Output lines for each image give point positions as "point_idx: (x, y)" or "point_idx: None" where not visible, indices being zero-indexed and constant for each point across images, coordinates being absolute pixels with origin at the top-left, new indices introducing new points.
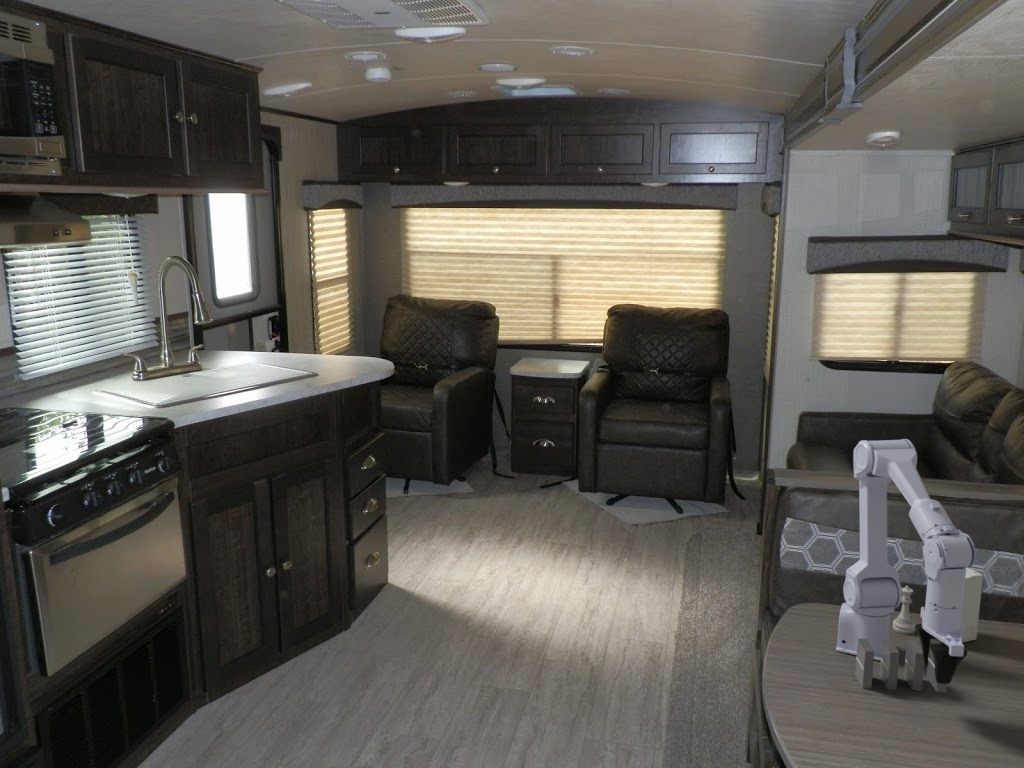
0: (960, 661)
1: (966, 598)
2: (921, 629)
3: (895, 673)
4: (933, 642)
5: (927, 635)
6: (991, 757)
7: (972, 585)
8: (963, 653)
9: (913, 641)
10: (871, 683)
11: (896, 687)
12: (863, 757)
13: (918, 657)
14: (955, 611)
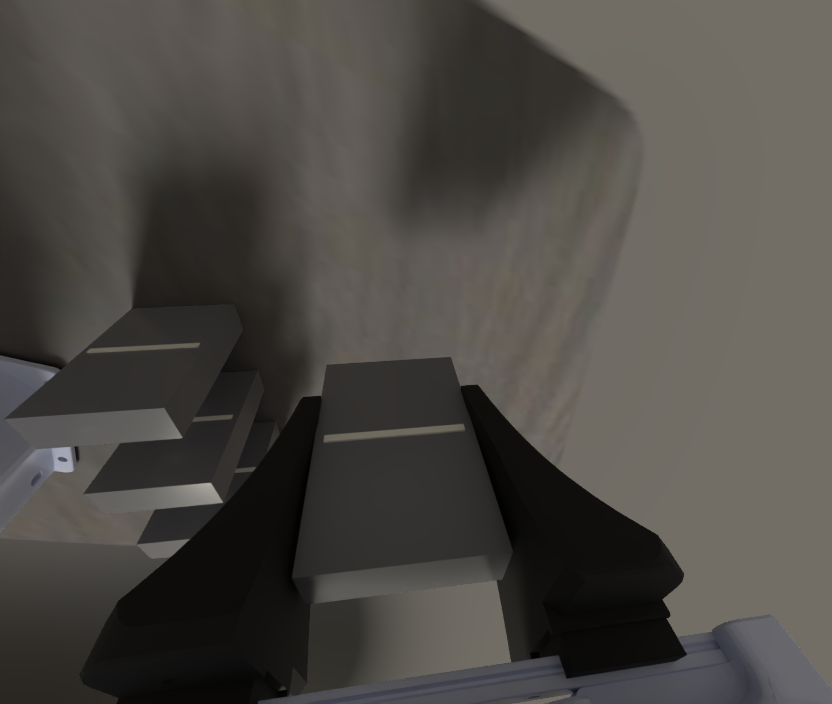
0: (586, 491)
1: None
2: (289, 694)
3: (243, 415)
4: (372, 594)
5: (300, 629)
6: (622, 211)
7: None
8: (680, 580)
9: (21, 427)
10: (273, 434)
11: (255, 375)
12: (555, 460)
13: (185, 412)
14: None
